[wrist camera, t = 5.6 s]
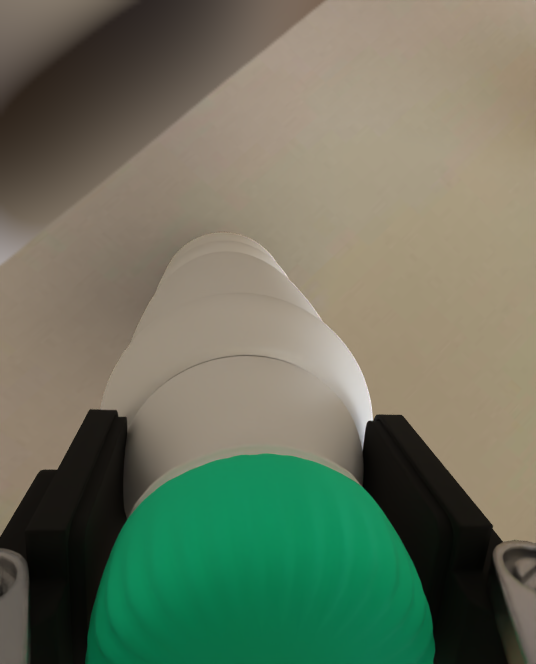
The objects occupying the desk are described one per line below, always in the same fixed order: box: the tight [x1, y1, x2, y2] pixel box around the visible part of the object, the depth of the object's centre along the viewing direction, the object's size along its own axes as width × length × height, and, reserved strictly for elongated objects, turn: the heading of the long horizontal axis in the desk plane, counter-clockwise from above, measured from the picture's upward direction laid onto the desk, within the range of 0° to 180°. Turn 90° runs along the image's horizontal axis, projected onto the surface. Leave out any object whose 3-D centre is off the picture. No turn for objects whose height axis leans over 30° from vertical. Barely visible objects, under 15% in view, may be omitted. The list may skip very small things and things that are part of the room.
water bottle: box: [85, 232, 435, 664], centre depth 18 cm, size 7×7×25 cm
